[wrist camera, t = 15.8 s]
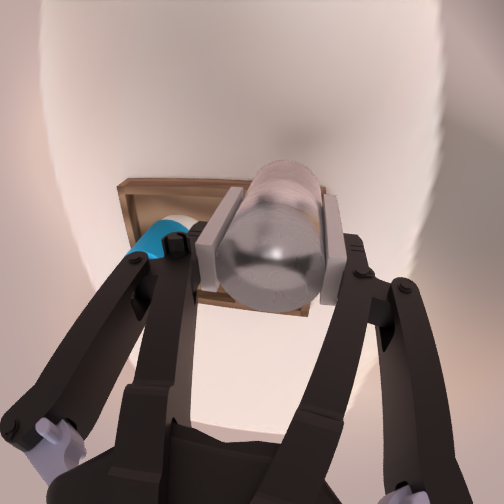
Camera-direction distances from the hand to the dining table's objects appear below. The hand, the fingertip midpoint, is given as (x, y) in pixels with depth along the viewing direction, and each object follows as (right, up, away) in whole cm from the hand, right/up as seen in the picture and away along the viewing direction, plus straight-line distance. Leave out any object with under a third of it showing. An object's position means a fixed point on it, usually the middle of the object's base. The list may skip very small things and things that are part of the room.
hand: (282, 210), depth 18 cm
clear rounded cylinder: (0, +2, +2) cm, 3 cm away
